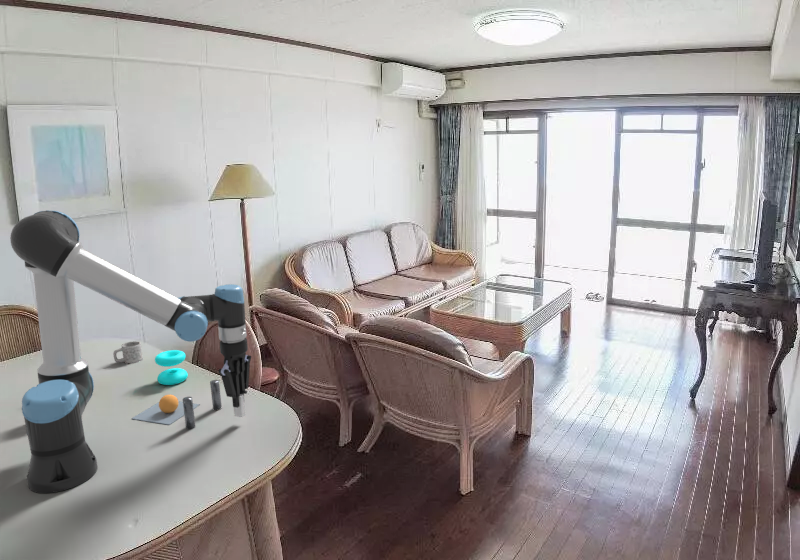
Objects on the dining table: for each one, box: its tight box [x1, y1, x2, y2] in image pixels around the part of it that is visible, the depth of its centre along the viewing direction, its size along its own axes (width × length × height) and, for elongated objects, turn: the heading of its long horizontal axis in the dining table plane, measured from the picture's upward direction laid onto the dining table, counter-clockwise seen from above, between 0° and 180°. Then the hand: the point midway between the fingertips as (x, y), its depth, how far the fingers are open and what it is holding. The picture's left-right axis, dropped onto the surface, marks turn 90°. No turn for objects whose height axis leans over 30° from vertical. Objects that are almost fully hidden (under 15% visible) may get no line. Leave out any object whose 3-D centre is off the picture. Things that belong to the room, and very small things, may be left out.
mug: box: [113, 340, 144, 364], centre depth 221 cm, size 10×7×7 cm
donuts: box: [154, 349, 189, 386], centre depth 201 cm, size 10×10×10 cm
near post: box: [182, 396, 196, 430], centre depth 167 cm, size 3×3×9 cm
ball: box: [158, 394, 179, 413], centre depth 177 cm, size 6×6×6 cm
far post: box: [209, 379, 223, 411], centre depth 178 cm, size 3×3×9 cm
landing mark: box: [130, 400, 201, 426], centre depth 178 cm, size 14×14×1 cm
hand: (239, 415), depth 169 cm, fingers closed
